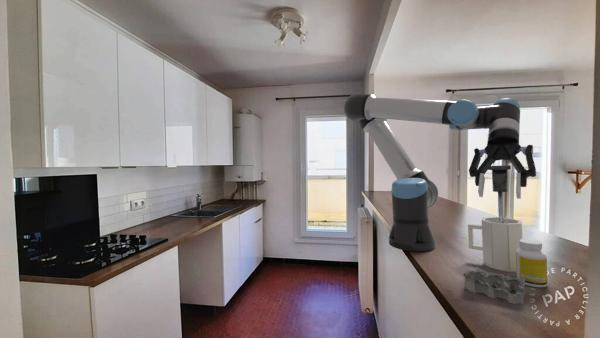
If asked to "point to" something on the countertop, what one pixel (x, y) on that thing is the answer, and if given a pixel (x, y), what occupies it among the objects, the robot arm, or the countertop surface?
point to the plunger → (500, 185)
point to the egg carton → (484, 280)
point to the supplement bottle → (531, 263)
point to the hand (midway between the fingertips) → (498, 194)
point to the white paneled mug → (498, 242)
